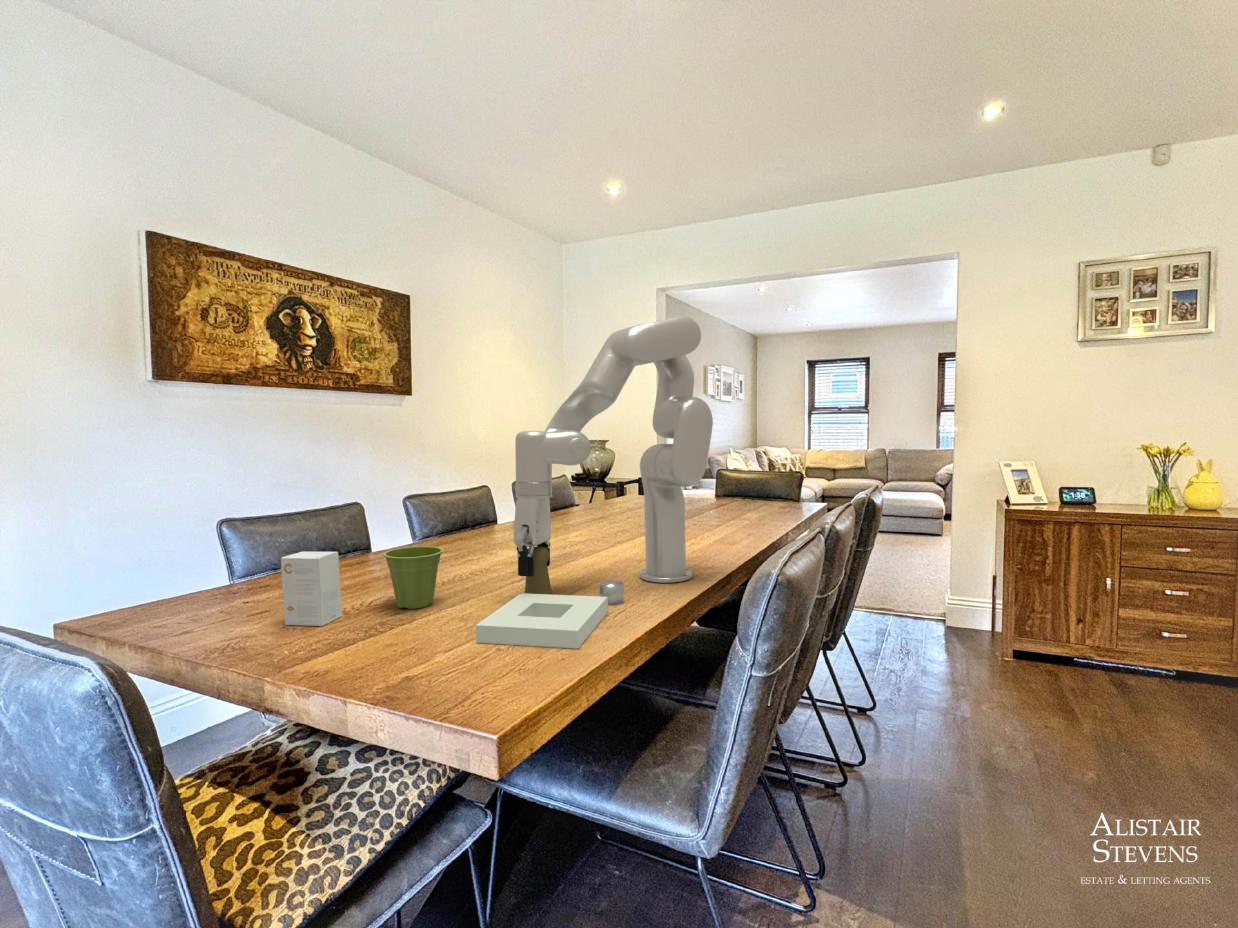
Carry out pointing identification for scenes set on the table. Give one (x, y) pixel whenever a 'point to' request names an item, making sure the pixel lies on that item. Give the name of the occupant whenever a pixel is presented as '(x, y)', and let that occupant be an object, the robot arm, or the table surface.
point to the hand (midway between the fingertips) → (534, 570)
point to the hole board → (543, 621)
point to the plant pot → (413, 574)
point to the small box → (311, 588)
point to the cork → (539, 573)
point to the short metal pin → (612, 591)
